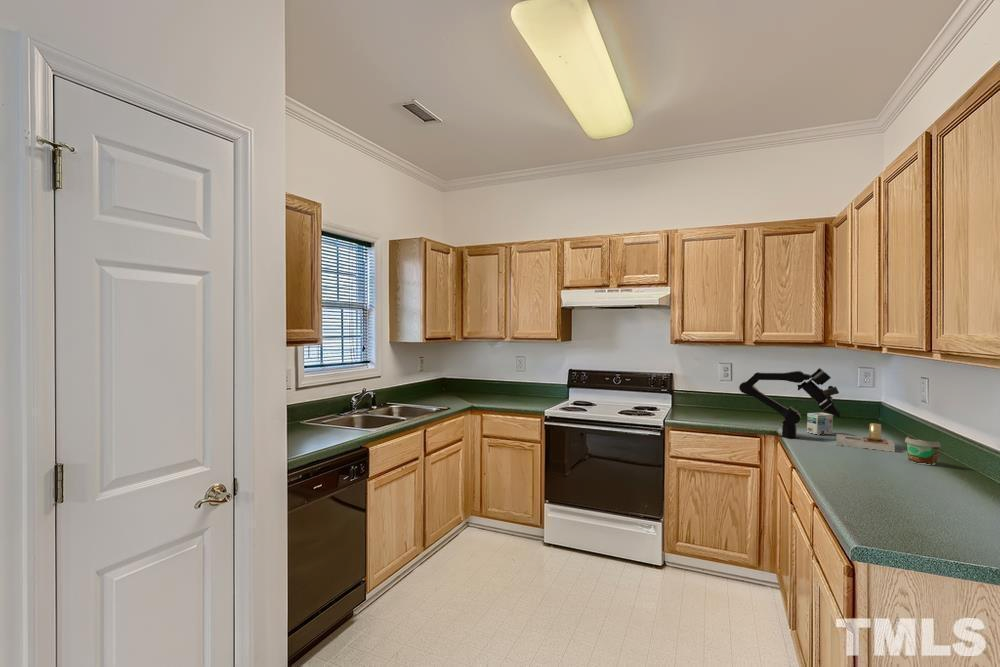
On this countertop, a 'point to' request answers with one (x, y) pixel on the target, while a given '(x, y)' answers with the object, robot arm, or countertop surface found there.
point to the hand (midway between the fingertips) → (839, 415)
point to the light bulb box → (819, 423)
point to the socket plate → (865, 442)
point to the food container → (922, 451)
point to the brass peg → (875, 432)
